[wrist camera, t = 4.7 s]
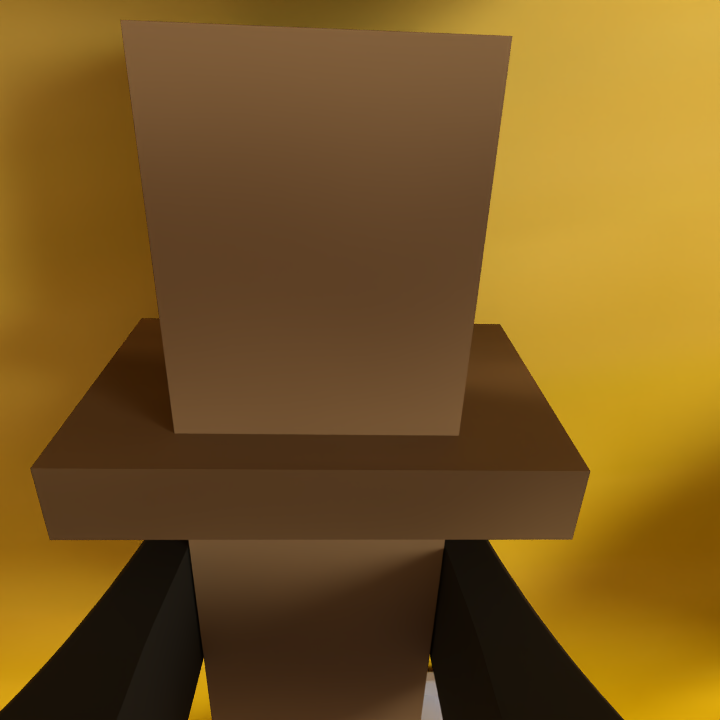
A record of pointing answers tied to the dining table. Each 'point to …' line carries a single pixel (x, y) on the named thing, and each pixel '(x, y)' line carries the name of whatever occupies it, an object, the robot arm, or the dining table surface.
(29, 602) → the dining table surface
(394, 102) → the brown collared bar
